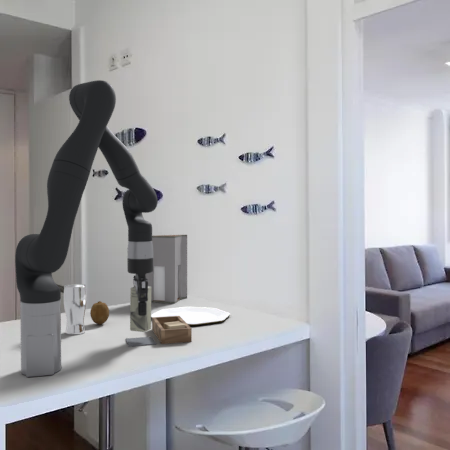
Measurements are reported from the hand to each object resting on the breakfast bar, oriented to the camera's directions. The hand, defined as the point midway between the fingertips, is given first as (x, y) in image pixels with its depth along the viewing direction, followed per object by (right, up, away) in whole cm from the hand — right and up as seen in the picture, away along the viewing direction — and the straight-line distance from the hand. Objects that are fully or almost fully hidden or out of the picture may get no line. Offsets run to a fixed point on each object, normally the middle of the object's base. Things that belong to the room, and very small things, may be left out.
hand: (140, 312), depth 146 cm
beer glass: (-23, -9, +11) cm, 27 cm away
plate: (+12, -8, +33) cm, 36 cm away
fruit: (-18, -8, +22) cm, 29 cm away
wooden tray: (+8, -8, +8) cm, 14 cm away
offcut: (+10, -6, +4) cm, 12 cm away
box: (0, -5, 0) cm, 5 cm away
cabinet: (+1, -7, +63) cm, 64 cm away
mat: (0, -9, 0) cm, 9 cm away
